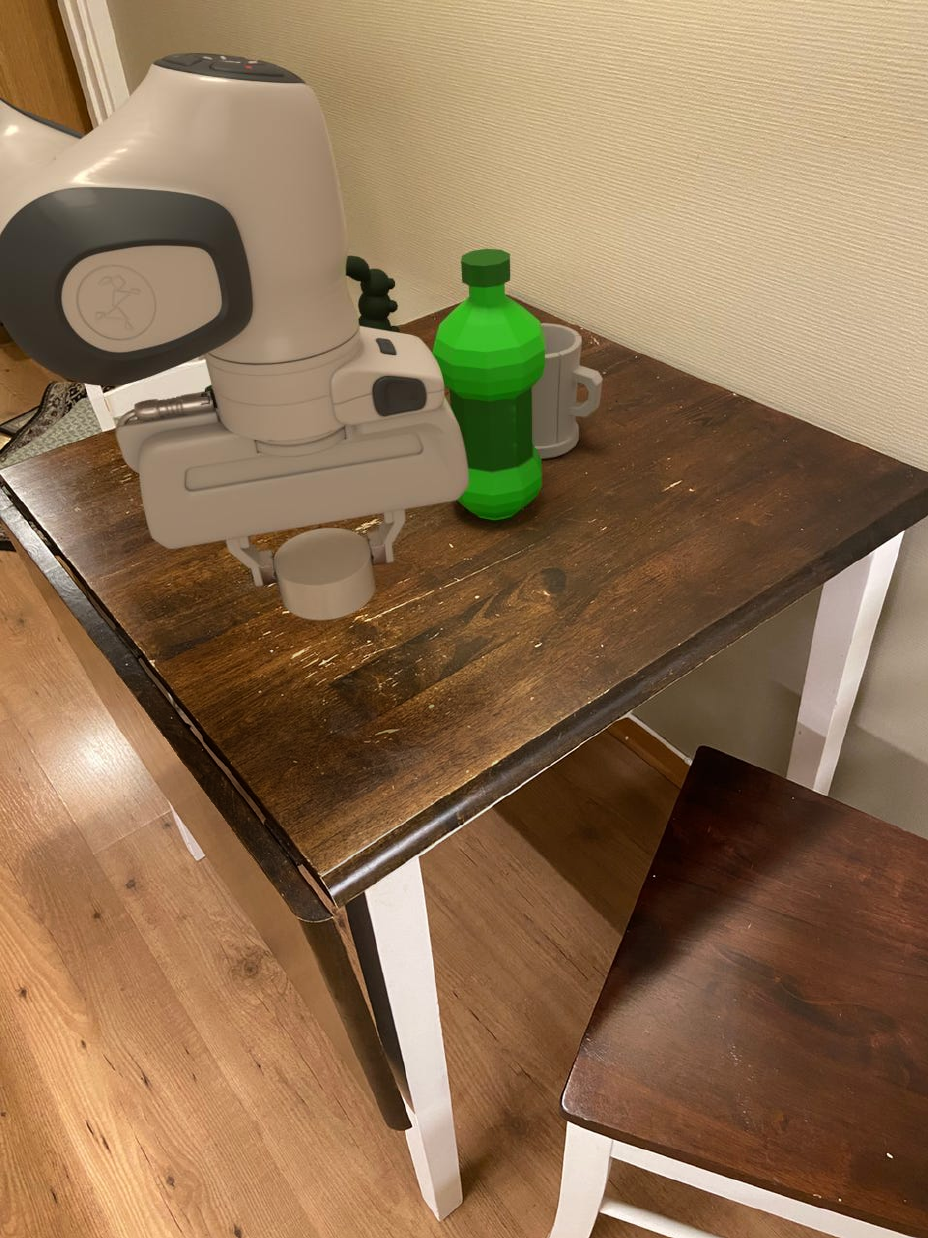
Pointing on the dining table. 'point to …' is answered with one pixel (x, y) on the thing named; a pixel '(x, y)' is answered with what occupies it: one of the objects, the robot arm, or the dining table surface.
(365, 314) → the toy figurine
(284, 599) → the beige hockey puck
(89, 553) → the dining table surface
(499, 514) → the plastic bottle
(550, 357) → the cup
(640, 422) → the dining table surface
